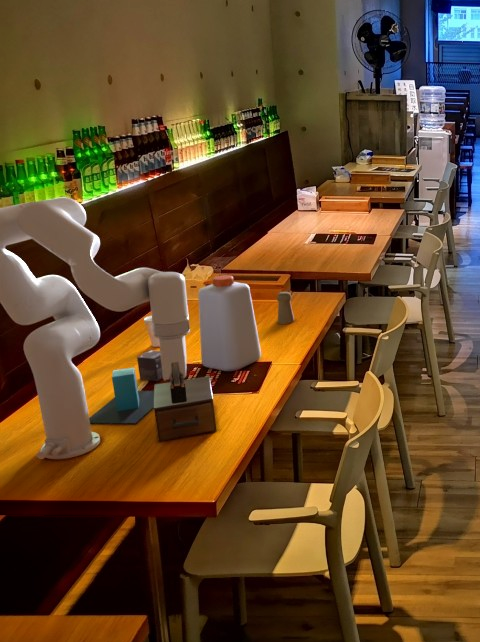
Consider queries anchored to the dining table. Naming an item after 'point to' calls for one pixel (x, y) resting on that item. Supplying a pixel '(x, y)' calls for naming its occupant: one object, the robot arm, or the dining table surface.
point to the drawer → (185, 420)
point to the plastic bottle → (227, 325)
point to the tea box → (125, 389)
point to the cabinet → (196, 394)
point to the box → (150, 366)
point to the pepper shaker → (284, 308)
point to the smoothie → (151, 331)
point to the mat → (124, 411)
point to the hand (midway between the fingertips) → (179, 401)
